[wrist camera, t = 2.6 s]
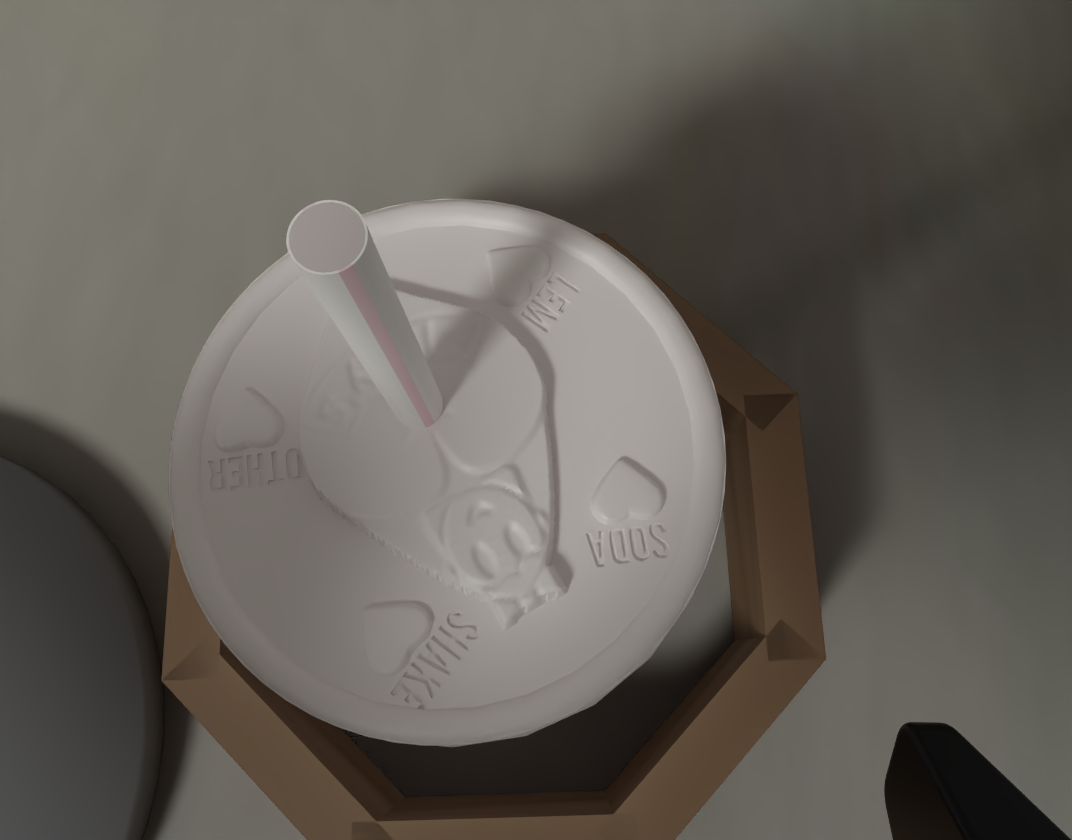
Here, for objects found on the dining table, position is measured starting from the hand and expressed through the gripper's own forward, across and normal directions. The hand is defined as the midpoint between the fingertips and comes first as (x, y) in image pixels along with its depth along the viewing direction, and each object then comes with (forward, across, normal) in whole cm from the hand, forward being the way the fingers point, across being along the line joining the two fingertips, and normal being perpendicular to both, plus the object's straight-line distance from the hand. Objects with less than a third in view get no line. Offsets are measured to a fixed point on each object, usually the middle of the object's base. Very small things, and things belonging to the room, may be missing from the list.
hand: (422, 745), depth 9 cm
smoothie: (+10, 0, +5) cm, 11 cm away
